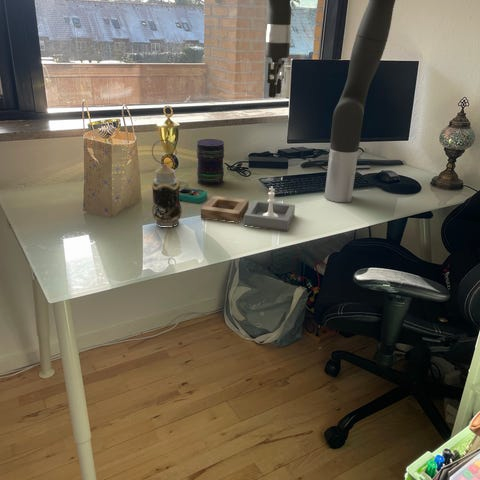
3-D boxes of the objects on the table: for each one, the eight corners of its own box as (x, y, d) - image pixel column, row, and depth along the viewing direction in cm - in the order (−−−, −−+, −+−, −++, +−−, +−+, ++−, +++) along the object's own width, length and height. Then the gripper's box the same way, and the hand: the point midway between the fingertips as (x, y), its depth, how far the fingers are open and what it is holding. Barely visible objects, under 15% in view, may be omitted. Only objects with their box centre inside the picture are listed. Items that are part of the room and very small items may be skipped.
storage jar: (195, 178, 174) (194, 139, 168) (220, 177, 176) (221, 138, 170) (199, 187, 166) (199, 146, 159) (226, 185, 168) (226, 145, 161)
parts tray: (294, 215, 144) (295, 204, 143) (286, 231, 133) (287, 220, 132) (254, 210, 147) (254, 199, 146) (243, 225, 136) (244, 215, 135)
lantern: (151, 229, 132) (146, 143, 121) (153, 218, 139) (148, 135, 129) (181, 228, 133) (179, 143, 122) (182, 217, 140) (180, 136, 129)
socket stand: (248, 208, 148) (248, 200, 147) (238, 223, 138) (238, 213, 136) (213, 204, 151) (213, 195, 150) (200, 217, 141) (200, 208, 139)
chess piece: (273, 222, 137) (275, 190, 132) (258, 218, 139) (260, 187, 135) (280, 217, 141) (283, 186, 136) (266, 213, 143) (268, 182, 139)
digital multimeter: (200, 205, 151) (200, 196, 150) (159, 199, 155) (159, 190, 154) (208, 197, 158) (208, 189, 156) (169, 192, 161) (168, 184, 160)
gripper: (285, 42, 135) (282, 99, 142) (293, 40, 147) (289, 93, 154) (261, 41, 136) (258, 97, 143) (270, 39, 149) (268, 91, 156)
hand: (274, 95), depth 149 cm, fingers open, 8 cm apart
